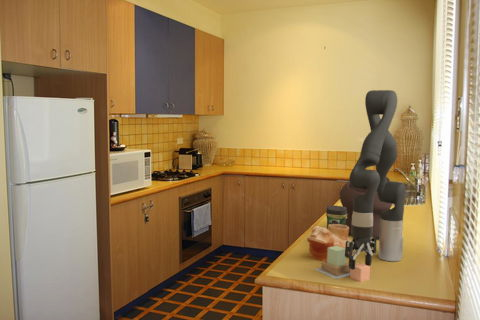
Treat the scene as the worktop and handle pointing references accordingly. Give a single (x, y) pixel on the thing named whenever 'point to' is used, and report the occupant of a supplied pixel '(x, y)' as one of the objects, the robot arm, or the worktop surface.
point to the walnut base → (335, 269)
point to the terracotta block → (360, 272)
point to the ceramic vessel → (327, 240)
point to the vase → (347, 201)
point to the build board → (331, 274)
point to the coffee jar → (336, 215)
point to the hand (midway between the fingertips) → (360, 267)
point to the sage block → (336, 256)
